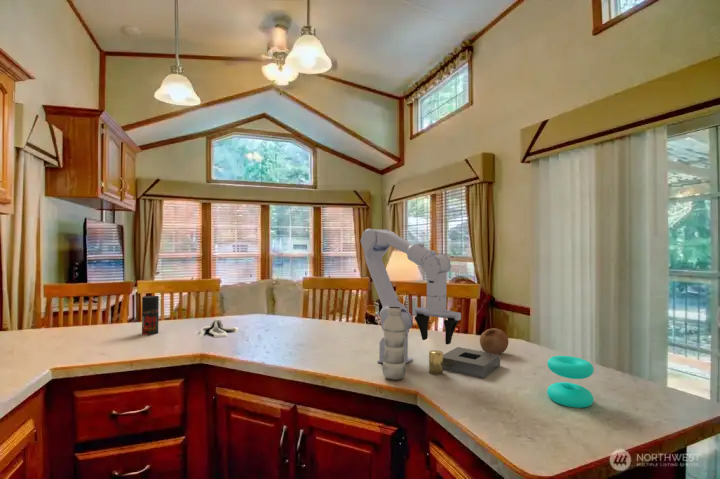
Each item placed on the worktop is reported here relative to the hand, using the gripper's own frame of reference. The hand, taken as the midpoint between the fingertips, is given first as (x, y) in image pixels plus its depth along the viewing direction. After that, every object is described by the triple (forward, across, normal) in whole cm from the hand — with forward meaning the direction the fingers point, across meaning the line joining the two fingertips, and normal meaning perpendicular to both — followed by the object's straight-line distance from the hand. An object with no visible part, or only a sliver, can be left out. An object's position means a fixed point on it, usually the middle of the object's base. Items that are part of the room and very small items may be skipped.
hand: (436, 341), depth 115 cm
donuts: (+9, -35, -2) cm, 36 cm away
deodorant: (+9, +113, +31) cm, 118 cm away
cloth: (+10, +94, +14) cm, 96 cm away
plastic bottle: (+9, +7, +12) cm, 17 cm away
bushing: (+9, 0, 0) cm, 9 cm away
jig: (+9, -6, -11) cm, 15 cm away
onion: (+9, -7, -30) cm, 32 cm away
